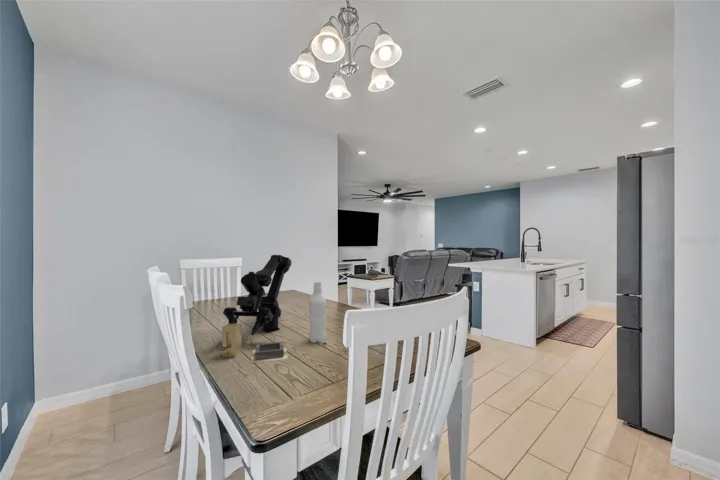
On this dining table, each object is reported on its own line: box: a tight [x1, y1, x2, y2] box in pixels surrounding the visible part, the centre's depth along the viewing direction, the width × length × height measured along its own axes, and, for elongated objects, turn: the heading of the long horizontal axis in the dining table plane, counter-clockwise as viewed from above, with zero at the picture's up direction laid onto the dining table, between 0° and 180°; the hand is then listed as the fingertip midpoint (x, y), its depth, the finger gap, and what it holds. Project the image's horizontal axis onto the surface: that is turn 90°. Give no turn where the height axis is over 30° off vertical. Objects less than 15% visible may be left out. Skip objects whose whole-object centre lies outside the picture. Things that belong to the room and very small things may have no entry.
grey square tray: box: [250, 341, 289, 364], centre depth 103 cm, size 12×12×4 cm
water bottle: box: [308, 281, 328, 344], centre depth 117 cm, size 7×7×25 cm
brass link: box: [221, 323, 243, 358], centre depth 102 cm, size 4×5×12 cm
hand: (240, 334), depth 108 cm, fingers open, 9 cm apart
